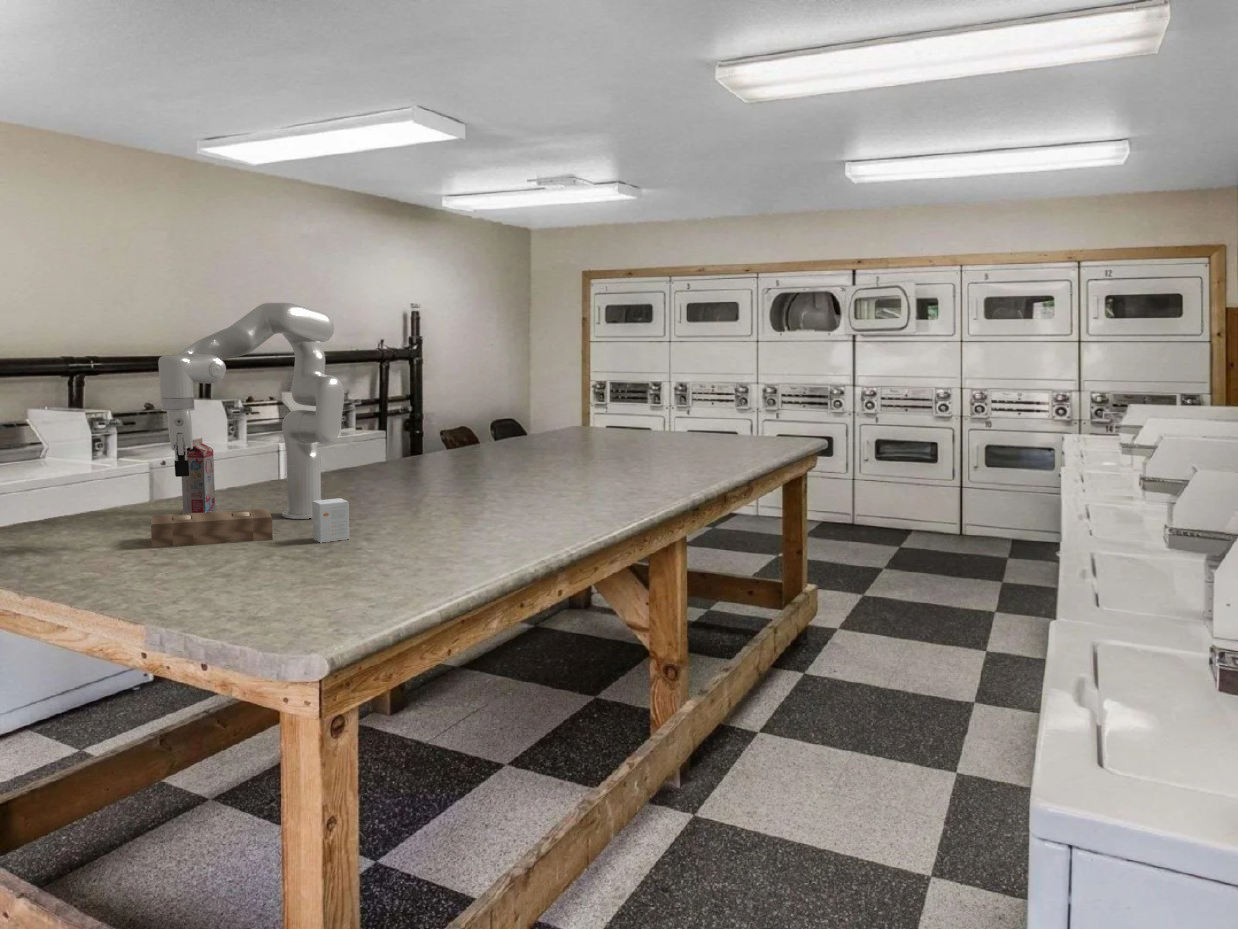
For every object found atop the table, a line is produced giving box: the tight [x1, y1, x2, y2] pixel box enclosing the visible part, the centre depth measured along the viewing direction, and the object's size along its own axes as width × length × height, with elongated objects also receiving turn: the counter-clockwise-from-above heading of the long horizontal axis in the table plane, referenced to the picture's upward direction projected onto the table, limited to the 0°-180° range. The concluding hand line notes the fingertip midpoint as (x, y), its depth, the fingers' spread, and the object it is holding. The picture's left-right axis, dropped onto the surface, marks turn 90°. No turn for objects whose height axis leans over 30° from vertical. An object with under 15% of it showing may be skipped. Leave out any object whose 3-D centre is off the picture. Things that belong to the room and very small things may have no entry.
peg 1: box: [173, 515, 191, 520], centre depth 224 cm, size 4×4×6 cm
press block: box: [150, 508, 274, 549], centre depth 227 cm, size 28×12×6 cm, turn 117°
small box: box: [311, 497, 350, 544], centre depth 230 cm, size 8×6×10 cm
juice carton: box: [181, 437, 216, 514], centre depth 260 cm, size 7×7×22 cm
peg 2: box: [233, 512, 250, 517], centre depth 230 cm, size 4×4×6 cm
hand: (182, 475), depth 222 cm, fingers closed
